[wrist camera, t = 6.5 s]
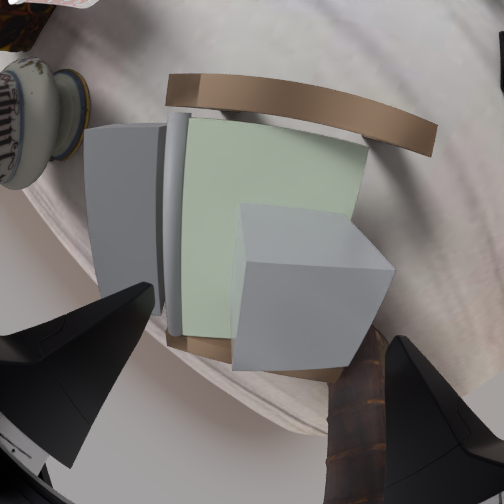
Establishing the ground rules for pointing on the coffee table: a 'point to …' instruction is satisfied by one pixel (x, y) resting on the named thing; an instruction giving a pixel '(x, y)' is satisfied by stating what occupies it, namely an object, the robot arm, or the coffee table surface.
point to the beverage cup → (60, 2)
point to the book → (358, 427)
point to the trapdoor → (200, 203)
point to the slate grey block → (301, 288)
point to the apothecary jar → (38, 119)
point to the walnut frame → (303, 108)
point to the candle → (21, 24)
